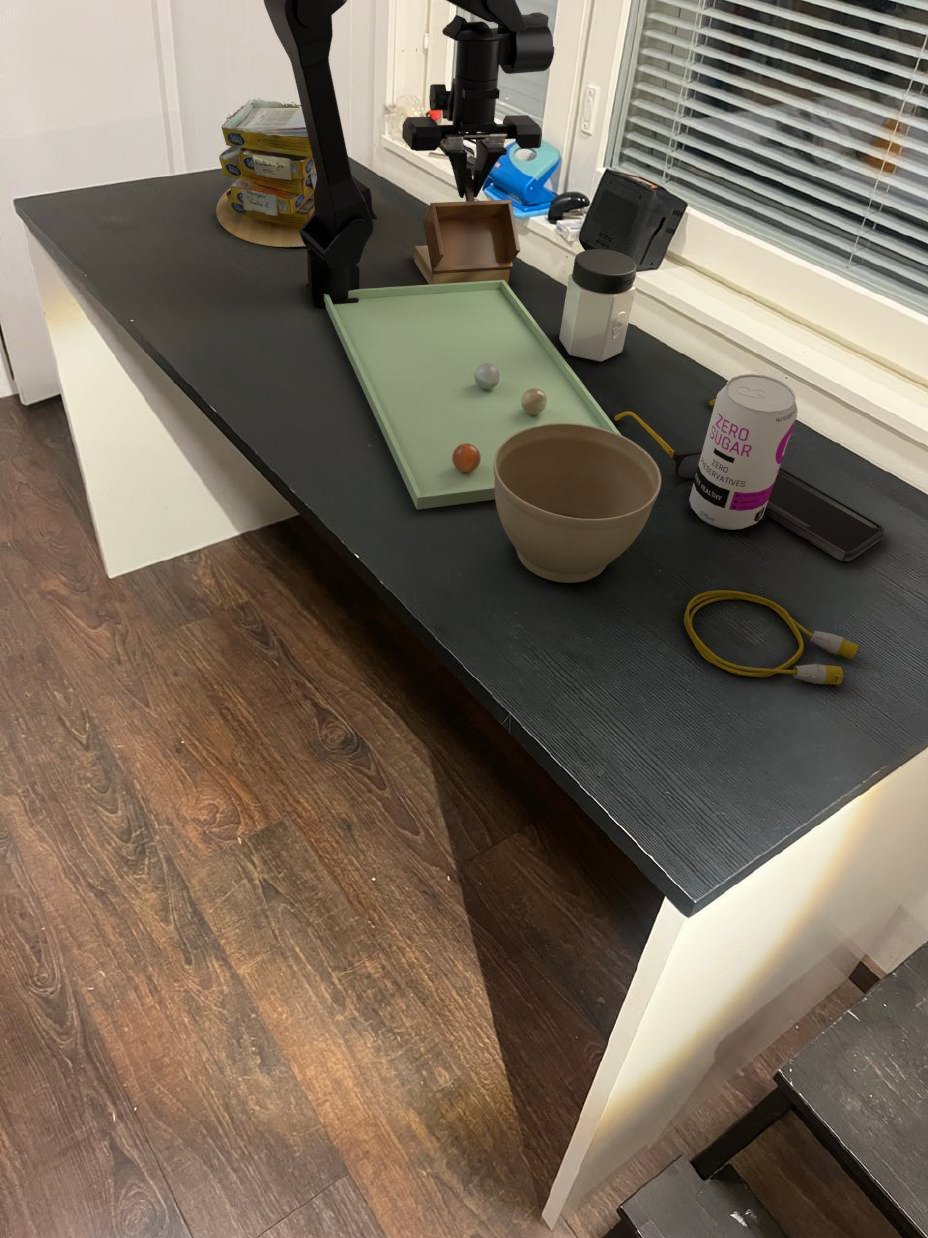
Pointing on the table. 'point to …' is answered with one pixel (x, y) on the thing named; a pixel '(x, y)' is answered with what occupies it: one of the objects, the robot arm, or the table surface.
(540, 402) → the ball
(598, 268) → the jar
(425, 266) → the stand
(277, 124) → the stacked yellow boxes
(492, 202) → the wooden ball box
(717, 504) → the supplement can
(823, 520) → the phone
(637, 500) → the planter bowl
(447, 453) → the tray
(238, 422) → the table surface
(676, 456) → the eyeglasses
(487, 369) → the ball
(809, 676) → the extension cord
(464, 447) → the ball
